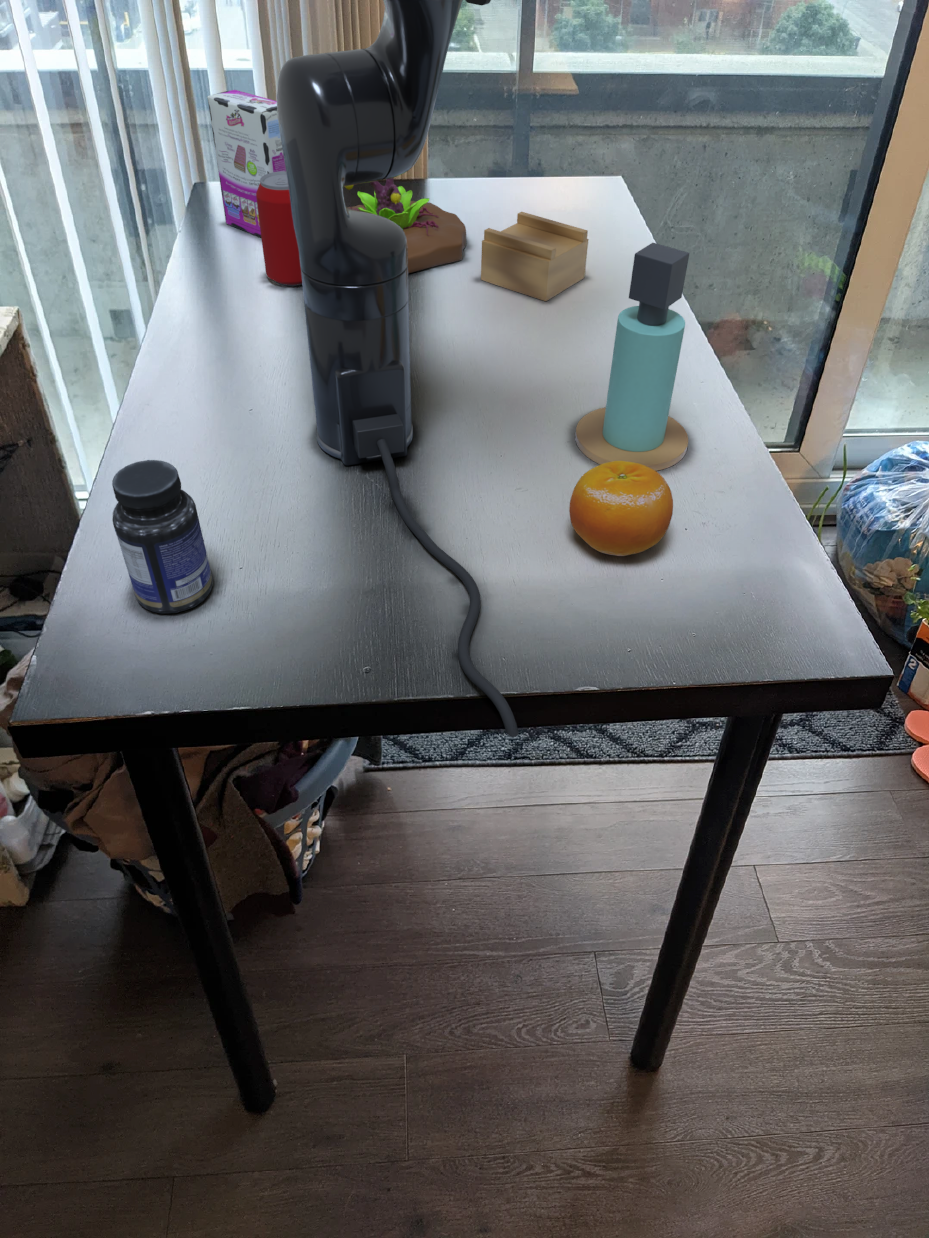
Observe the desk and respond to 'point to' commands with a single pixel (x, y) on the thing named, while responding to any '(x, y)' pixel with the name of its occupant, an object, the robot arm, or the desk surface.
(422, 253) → the plant
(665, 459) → the coaster
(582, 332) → the desk surface
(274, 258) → the beverage can
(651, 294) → the teal cylinder
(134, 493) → the pill bottle
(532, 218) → the cradle
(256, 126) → the candy bar box
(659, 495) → the fruit
